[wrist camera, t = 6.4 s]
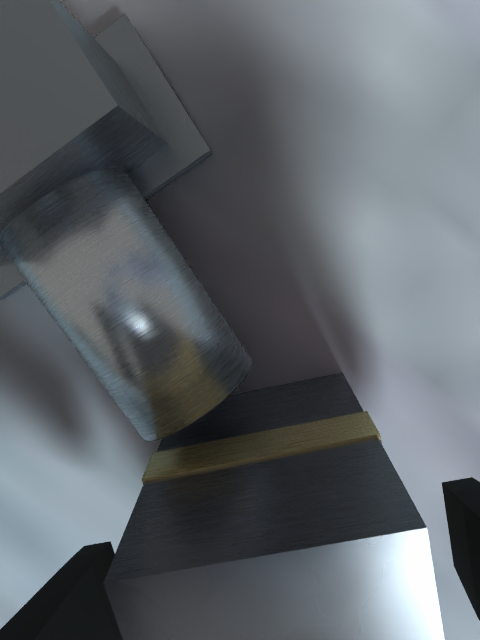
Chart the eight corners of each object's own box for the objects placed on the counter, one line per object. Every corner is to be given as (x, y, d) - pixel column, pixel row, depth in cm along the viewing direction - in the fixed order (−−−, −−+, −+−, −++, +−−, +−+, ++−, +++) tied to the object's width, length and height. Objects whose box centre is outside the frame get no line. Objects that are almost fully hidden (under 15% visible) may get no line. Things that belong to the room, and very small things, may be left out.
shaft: (310, 309, 11) (341, 367, 7) (107, 433, 12) (28, 549, 8) (132, 24, 10) (41, -112, 6) (-80, 188, 11) (-290, 175, 7)
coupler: (372, 522, 13) (470, 778, 7) (213, 549, 13) (181, 815, 7) (343, 370, 12) (429, 524, 6) (173, 404, 12) (98, 580, 6)
